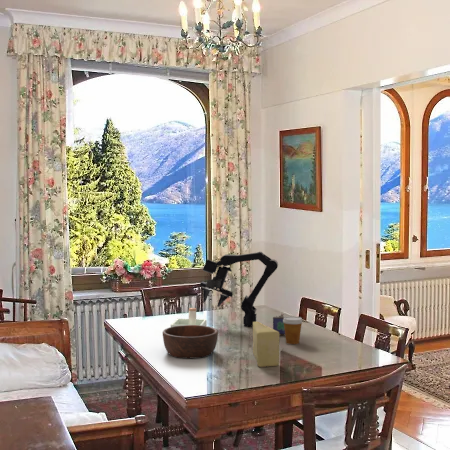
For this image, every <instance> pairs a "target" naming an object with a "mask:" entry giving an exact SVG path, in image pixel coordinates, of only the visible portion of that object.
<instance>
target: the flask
mask: <svg viewBox="0 0 450 450" xmlns="http://www.w3.org/2000/svg"><path fill="white" fill-rule="evenodd" d="M284 317H285V315H284V313H280V315H276V316H273V317H272V329H274V330H276V331H278V332H279V336H282V335H283V336H285V329H284V322H283V319H284Z"/></svg>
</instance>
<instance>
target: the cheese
mask: <svg viewBox="0 0 450 450" xmlns="http://www.w3.org/2000/svg"><path fill="white" fill-rule="evenodd" d="M252 353H253V354H252V355H253V356H254V358H255V361H256V363H257V367H259V368H262V367H263V368H266V366H267V367H278V366H279V364H280V335H279V332H278V331H276V330H274V329H273V327H270V326H268V325H265V324H263V323H261V322H260V321H256V322H253V327H252Z"/></svg>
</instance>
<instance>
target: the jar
mask: <svg viewBox="0 0 450 450" xmlns="http://www.w3.org/2000/svg"><path fill="white" fill-rule="evenodd" d="M188 319H189V325H196V319H197V308H196V307H189V308H188Z"/></svg>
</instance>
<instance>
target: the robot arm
mask: <svg viewBox="0 0 450 450" xmlns="http://www.w3.org/2000/svg"><path fill="white" fill-rule="evenodd" d="M257 260H258V261H259V262H261V263H262V264H263V265H264V266H265V268H264V271H263V273H262V275H261V277H260V278H259V280H258V281H257V283H256V285H255V287H254V288H253V290H252V291H251V293H250V294H249V295H245V296H244V298H243V300H242V301H241V303H240V304H241V305H240V308H241V309H240V310H241V311H242V312H244V315H243V319H242V321H243V323H242V324H243V326H244V327H252V328H253V322H257V320H258V319H257V313H256V312H257V310H258V309H257V308H256V306H254V304H255V301H256V299H257V297H258V295H259V294H260V292H261V291H262V289H263V287H265V284H266V282H267V281H268V280H269V278H270V277H271V276H272V275H273V274H274V273H275V272H276V270H277V269H278V267H279V263H278V261H277V259H273V258H271V257H269V256H268V255H266V254H264V253H263V252H262V251H258V252H251V253H250V252H249V253H243V254H230V253H229V254H224V255H222V256H221V257H220V260H217V261H213V260H211V259H210V258H209V259H206V261H205V264H204V265H203V268H202V271H203V272H206V273H209V274H211V275H214V274H215V276H213V277H212V279H208V280H206V282H205V281H203V280H202V281H201V282H200V283H199V286H200V288H201V289H202V292H203V302H204V303H205V302H206V301H207V299H208V297H209V294H210V292H211V290H213V291H216V292H219V293H220V294H219V299H218V302H217V308H219V307H220V306H221V305H222V304H223V303H224V302H225V301H226V300H227V299H229V298H232V297H233V294H234V293H233V291H231V290H228V289H227V288H226V289H225V288H224V285H225V283H226V282H227V280H226V279H227V275H228V272H233V270H232V269H231V266H232V265H234V264H237V263H241V262H249V261H257Z"/></svg>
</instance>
